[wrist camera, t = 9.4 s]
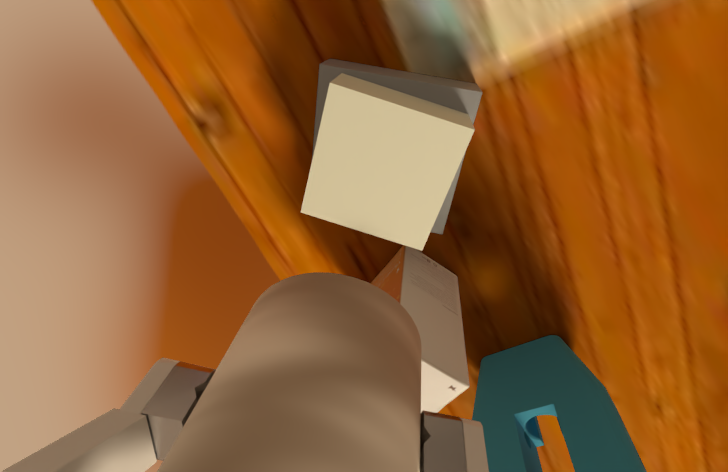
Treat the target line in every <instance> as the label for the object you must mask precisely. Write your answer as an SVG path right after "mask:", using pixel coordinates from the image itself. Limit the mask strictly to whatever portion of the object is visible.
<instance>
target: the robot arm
mask: <svg viewBox="0 0 728 472" xmlns="http://www.w3.org/2000/svg"><path fill="white" fill-rule="evenodd" d="M215 371H216V369H211V368H207V367H203V366H198V365H194V364H189V363H185V362H181V361H176V360H171V359H166V358H161V359H160V360H158V361H157V362H156V363H155V364H154V365H153V367H152V368H151V369H150V370H149V372H148V373H147V374H146V376H145V377H144V378H143V380H142V381H141V382H140V383H139V385H138V386H137V388H136V389H135V390H134V391H133V393H132V394H131V395H130V397H129V398H128V399H127V400H126V402H125V403H124V404H123V406H122V407H121V408H120V409H112V410H110V411H109V412H107V413H105V414H104V415H101V416H100V417H98V418H96V419H94V420H93V421H91V422H89V423H87V424H85V425H84V426H82V427H80V428H78V429H77V430H75V431H73V432H71V433H69V434H67V435H66V436H64V437H62V438H60V439H59V440H57V441H55V442H53V443H52V444H50V445H48V446H46V447H44V448H43V449H41V450H39V451H37V452H35V453H34V454H32V455H30V456H28V457H26V458H25V459H23V460H21V461H20V462H18V463H16V464H14V465H12V466H10V467H9V468H7V469H5V470H3V472H145V471H146V470H147V469H148V468H149V467H151V466H152V465H153V464H154V463H156V462H157V459H158V460H163V461H164V459H165V457H166V456H167V454H168V452H169V450H170V449H171V447H172V445H173V444H174V442H175V440H176V438H177V437H178V435H179V433H180V432H181V430H182V428H183V426H184V425H185V423H186V421H187V419H188V418H189V416H190V414H191V413H192V411H193V409H194V407H195V406H196V404H197V402H198V400H199V399H200V397H201V395H202V394H203V392H204V390H205V388H206V387H207V385H208V383H209V381H210V380H211V378H212V376H213V375H214V373H215ZM420 472H489V469H488V462H487V455H486V447H485V440H484V433H483V426H482V424H481V422H479V421H474V420H469V419H463V418H460V417H456V416H451V415H445V414H440V413H434V412H429V411H424V410H423V411H422V412H421V433H420Z"/></svg>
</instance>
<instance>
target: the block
mask: <svg viewBox="0 0 728 472" xmlns="http://www.w3.org/2000/svg"><path fill="white" fill-rule="evenodd" d="M538 415H554V416H557V419H558V422H559V425H560V428H561V431H562V434H563V436H564V438H565V441H566V445H567V448H568V451H569V454H570V457H571V460H572V463H573V466H574V469H575V472H646V469H645V467H644V465H643V463H642V461H641V459H640V457H639V455H638V453H637V451H636V448H635V446H634V444H633V442H632V440H631V438H630V436H629V434H628V432H627V430H626V428H625V425H624V423H623V421H622V419H621V417H620V415H619V413H618V411H617V409H616V407H615V405H614V403H613V401H612V399H611V398H610V396H609V394H608V392H607V390H606V388H605V387H604V385H603V384H602V383H601V382H600V381H599V380H598V379H597V378H596V377H595V376H594V374H593V373H592V372H591V371H590V370H589V369H588V368H587V367H586V366H585V364H584V363H583V362H582V361H581V360H580V359H579V358H578V357H577V356H576V354H575V353H574V352H573V351H572V350H571V349H570V348H569V347H568V346H567V344H566V343H565V342H564V341H563V340H562V339H561V338H560V337H559V336H556V335H549V336H545V337H542V338H539V339H536V340H533V341H530V342H527V343H524V344H521V345H518V346H515V347H512V348H509V349H506V350H503V351H500V352H497V353H494V354H491V355H488V356H486V357H484V358H483V359H482V360H481V365H480V372H479V378H478V385H477V391H476V398H475V404H474V410H473V417H472V420H474V421H479V422H481V424H482V426H483V433H484V440H485V447H486V455H487V462H488V469H489V472H542V468H541V464H540V460H539V456H538V452H537V448H536V447H538V446H542V445H544V443H543V439H542V435H541V432H540V428H539V424H538V421H537V417H536V416H538Z"/></svg>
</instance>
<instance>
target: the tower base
mask: <svg viewBox="0 0 728 472" xmlns="http://www.w3.org/2000/svg"><path fill="white" fill-rule="evenodd" d="M341 73H344V74H347V75H350V76H353V77H356V78H359V79H362V80H365V81H368V82H371V83H374V84H377V85H380V86H383V87H387V88H390V89H393V90H396V91H399V92H402V93H405V94H408V95H411V96H414V97H417V98H420V99H423V100H426V101H429V102H432V103H435V104H439V105H442V106H445V107H448V108H451V109H454V110H457V111H460V112H463V113H466V114H469V117H470V119H471V122H472V124H474V120H475V117H476V113H477V110H478V106H479V103H480V99H481V95H482V91H481V90H480V88H479V87H478V85H477V84H476V83H470V82H464V81H458V80H453V79H447V78H441V77H435V76H429V75H424V74H418V73H412V72H406V71H400V70H394V69H389V68H383V67H377V66H371V65H365V64H360V63H354V62H348V61H342V60H336V59H328V60H326V61H325V62H323V63H321V64H319V77H318V90H317V103H316V116H315V129H314V141H313V154H312V159H313V155H314V150H315V146H316V141H317V137H318V132H319V128H320V124H321V119H322V115H323V110H324V106H325V101H326V97H327V92H328V88H329V84H330V82H331V81H332V80H334V79H335V78H336V77H337V76H339V75H340V74H341ZM465 152H466V151H465ZM464 156H465V154H464ZM464 156H463V158H462V160H461V163H460V165H459V167H458V170H457V172H456V174H455V177H454V179H453V181H452V183H451V186H450V188H449V190H448V193H447V195H446V197H445V200H444V202H443V204H442V207H441V209H440V211H439V213H438V216H437V218H436V220H435V223H434V225H433V227H432V230H431V232H432V233H437V234H443V231H444V227H445V224H446V220H447V216H448V213H449V209H450V206H451V202H452V199H453V195H454V192H455V188H456V184H457V181H458V177H459V174H460V170H461V167H462V163H463V159H464Z"/></svg>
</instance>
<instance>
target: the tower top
mask: <svg viewBox="0 0 728 472" xmlns="http://www.w3.org/2000/svg"><path fill="white" fill-rule="evenodd" d="M474 131H475V129H474V127H473V124H472V122H471V119H470V117H469V114H466V113H463V112H460V111H457V110H454V109H451V108H448V107H445V106H442V105H439V104H435V103H432V102H429V101H426V100H423V99H420V98H417V97H414V96H411V95H408V94H405V93H402V92H399V91H396V90H393V89H390V88H387V87H383V86H380V85H377V84H374V83H371V82H368V81H365V80H362V79H359V78H356V77H353V76H350V75H347V74H344V73H341V74H340V75H339V76H337V77H336V78H335V79H334V80H332V81H331V82H330V84H329V88H328V92H327V97H326V101H325V106H324V110H323V115H322V119H321V124H320V128H319V132H318V137H317V141H316V146H315V150H314V155H313V159H312V163H311V168H310V172H309V177H308V181H307V186H306V190H305V194H304V199H303V203H302V208H301V213H304V214H307V215H310V216H313V217H317V218H320V219H323V220H326V221H329V222H332V223H336V224H339V225H342V226H345V227H348V228H351V229H355V230H358V231H361V232H364V233H367V234H370V235H374V236H377V237H380V238H383V239H386V240H389V241H392V242H396V243H399V244H402V245H405V246H408V247H411V248H415V249H418V250H421V251H422V250H423V248H424V246H425V243H426V241H427V239H428V236H429V234H430V232H431V230H432V227H433V225H434V223H435V220H436V218H437V216H438V213H439V211H440V209H441V207H442V204H443V202H444V200H445V197H446V195H447V193H448V190H449V188H450V186H451V183H452V181H453V179H454V177H455V174H456V172H457V170H458V167H459V165H460V163H461V160H462V158H463V156H464V154H465V151H466V149H467V147H468V144H469V142H470V140H471V137H472V135H473V133H474Z"/></svg>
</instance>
